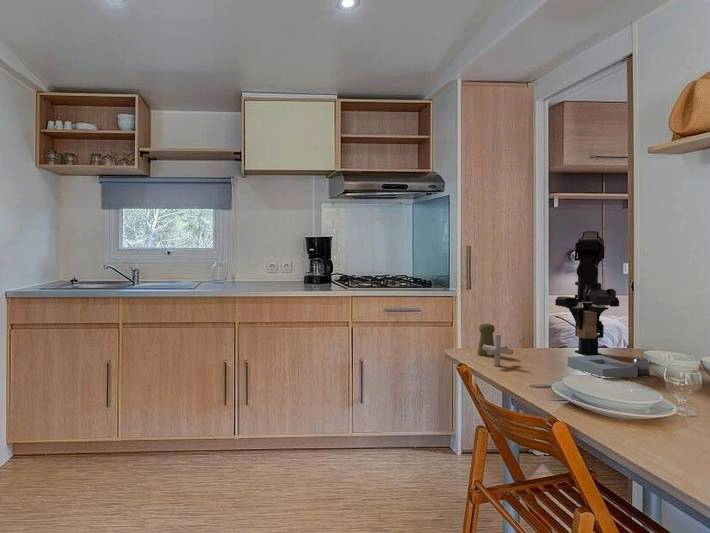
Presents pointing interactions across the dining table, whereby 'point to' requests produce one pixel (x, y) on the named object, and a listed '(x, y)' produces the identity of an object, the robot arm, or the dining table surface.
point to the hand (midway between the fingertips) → (586, 329)
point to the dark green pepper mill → (486, 338)
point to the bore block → (602, 366)
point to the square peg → (588, 325)
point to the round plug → (642, 366)
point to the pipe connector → (497, 350)
